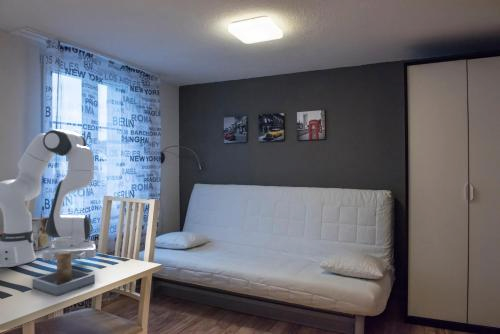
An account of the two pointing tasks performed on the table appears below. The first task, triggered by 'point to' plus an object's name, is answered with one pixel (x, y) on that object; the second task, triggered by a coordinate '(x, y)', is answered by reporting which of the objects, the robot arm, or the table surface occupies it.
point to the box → (50, 283)
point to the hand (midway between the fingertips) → (66, 258)
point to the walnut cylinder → (64, 267)
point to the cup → (59, 242)
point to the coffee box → (40, 233)
